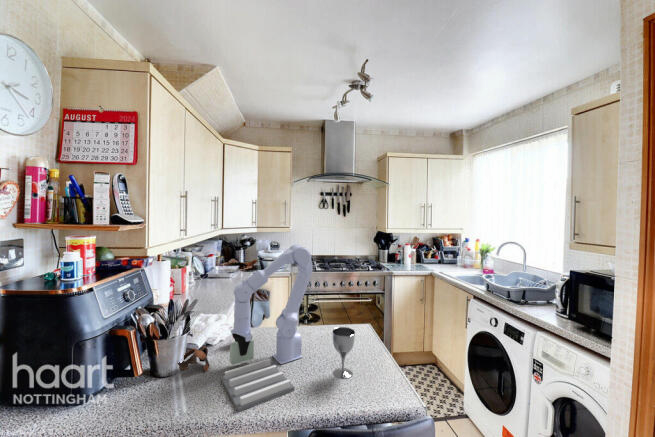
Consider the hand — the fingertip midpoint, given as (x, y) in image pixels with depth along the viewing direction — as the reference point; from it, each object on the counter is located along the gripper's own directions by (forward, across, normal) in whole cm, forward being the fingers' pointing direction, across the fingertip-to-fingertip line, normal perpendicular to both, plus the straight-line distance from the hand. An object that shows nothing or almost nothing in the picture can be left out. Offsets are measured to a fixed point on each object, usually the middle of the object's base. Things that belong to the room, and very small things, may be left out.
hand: (242, 353), depth 106 cm
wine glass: (+5, +25, +28) cm, 38 cm away
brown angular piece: (+5, -7, -14) cm, 17 cm away
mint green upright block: (+3, 0, 0) cm, 3 cm away
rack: (+4, +15, 0) cm, 16 cm away
